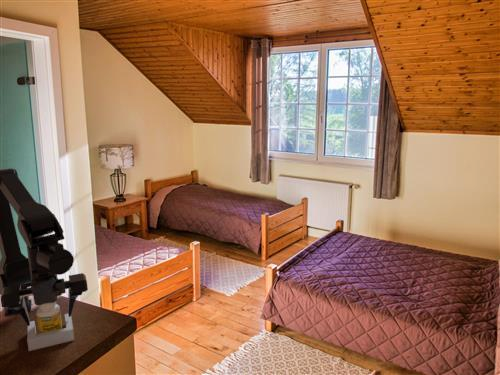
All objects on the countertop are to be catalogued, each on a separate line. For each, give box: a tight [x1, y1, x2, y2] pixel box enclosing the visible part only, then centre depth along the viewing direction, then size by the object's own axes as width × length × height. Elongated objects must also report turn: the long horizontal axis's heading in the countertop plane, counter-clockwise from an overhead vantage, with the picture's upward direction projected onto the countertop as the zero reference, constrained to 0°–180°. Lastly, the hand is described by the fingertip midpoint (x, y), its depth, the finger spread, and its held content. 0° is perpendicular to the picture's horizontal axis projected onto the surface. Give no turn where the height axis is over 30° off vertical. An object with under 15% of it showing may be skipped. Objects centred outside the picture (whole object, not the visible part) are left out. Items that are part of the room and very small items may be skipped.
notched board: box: [26, 313, 75, 352], centre depth 104 cm, size 8×10×3 cm
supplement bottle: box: [35, 301, 64, 334], centre depth 104 cm, size 5×5×10 cm
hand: (49, 320), depth 104 cm, fingers open, 9 cm apart
